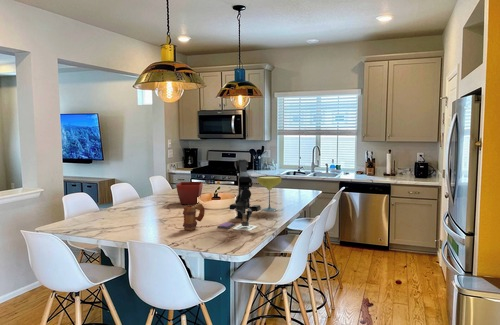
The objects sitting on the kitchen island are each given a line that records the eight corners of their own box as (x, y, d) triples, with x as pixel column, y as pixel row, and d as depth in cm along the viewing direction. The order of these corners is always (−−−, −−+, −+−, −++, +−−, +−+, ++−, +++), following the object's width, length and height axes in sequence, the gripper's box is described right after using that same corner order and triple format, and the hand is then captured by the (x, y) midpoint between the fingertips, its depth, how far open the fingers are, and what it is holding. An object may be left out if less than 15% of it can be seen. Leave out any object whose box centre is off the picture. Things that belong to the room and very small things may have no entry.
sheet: (240, 224, 233) (240, 223, 233) (258, 226, 229) (258, 225, 229) (232, 228, 223) (232, 228, 223) (250, 230, 218) (250, 230, 218)
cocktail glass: (268, 213, 264) (268, 179, 262) (252, 209, 278) (252, 176, 276) (286, 210, 275) (286, 176, 274) (270, 206, 289) (269, 174, 287)
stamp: (243, 224, 228) (243, 213, 228) (249, 224, 227) (249, 213, 226) (240, 225, 224) (240, 214, 224) (246, 226, 223) (246, 215, 222)
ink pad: (225, 224, 235) (225, 222, 235) (234, 225, 232) (234, 223, 232) (217, 227, 226) (217, 225, 225) (227, 228, 223) (227, 226, 223)
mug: (185, 232, 217) (185, 206, 216) (179, 229, 223) (179, 204, 222) (207, 228, 225) (207, 203, 224) (201, 225, 232) (200, 201, 231)
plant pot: (200, 205, 297) (199, 184, 296) (176, 205, 297) (175, 185, 296) (203, 201, 316) (203, 181, 315) (181, 201, 316) (180, 182, 315)
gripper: (225, 197, 221) (225, 223, 222) (253, 199, 213) (253, 225, 214) (233, 194, 231) (233, 219, 232) (260, 196, 223) (261, 221, 224)
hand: (245, 221), depth 225 cm, fingers closed on stamp, 3 cm apart
